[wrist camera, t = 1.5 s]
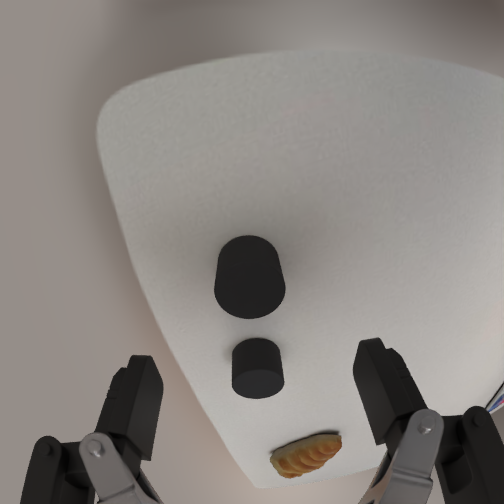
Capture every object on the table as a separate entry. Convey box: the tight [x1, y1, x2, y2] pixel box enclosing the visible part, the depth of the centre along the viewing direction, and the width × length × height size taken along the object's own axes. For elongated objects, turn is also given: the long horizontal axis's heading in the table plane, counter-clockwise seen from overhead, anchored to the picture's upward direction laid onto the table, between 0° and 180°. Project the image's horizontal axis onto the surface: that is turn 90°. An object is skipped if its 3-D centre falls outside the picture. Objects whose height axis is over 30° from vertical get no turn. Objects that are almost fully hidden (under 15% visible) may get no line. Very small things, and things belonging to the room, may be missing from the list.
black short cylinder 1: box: [214, 236, 286, 319], centre depth 16 cm, size 4×4×3 cm
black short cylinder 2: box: [232, 338, 284, 399], centre depth 19 cm, size 4×4×3 cm
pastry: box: [270, 434, 342, 478], centre depth 28 cm, size 9×7×4 cm
